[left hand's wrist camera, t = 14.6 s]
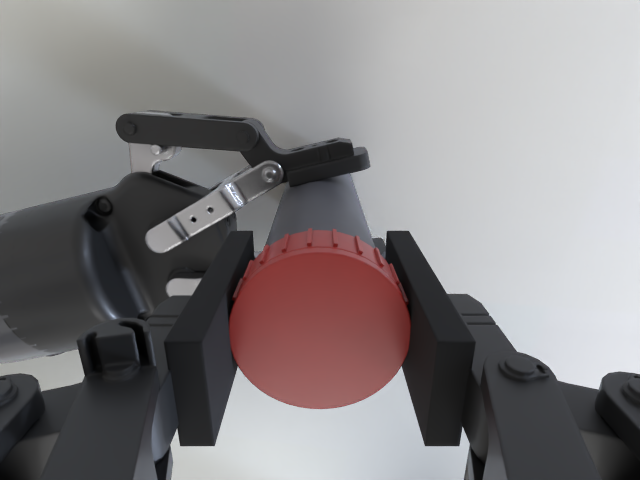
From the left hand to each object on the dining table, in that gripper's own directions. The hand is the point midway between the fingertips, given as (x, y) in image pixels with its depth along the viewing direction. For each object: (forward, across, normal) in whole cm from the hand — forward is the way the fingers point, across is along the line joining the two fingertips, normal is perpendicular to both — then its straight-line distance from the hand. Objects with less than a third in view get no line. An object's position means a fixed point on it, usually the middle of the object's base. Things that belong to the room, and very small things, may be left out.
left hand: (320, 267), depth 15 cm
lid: (-4, 0, 0) cm, 4 cm away
